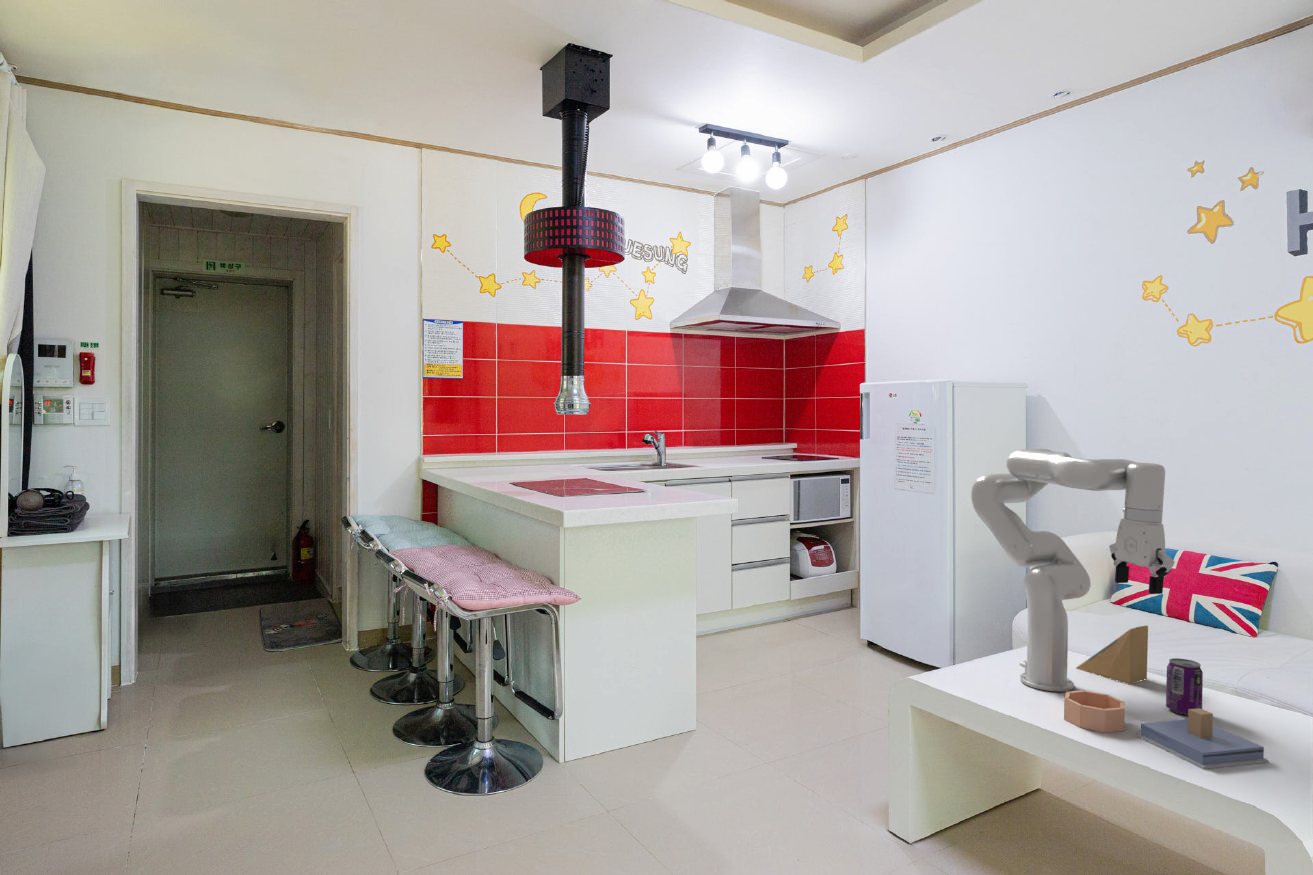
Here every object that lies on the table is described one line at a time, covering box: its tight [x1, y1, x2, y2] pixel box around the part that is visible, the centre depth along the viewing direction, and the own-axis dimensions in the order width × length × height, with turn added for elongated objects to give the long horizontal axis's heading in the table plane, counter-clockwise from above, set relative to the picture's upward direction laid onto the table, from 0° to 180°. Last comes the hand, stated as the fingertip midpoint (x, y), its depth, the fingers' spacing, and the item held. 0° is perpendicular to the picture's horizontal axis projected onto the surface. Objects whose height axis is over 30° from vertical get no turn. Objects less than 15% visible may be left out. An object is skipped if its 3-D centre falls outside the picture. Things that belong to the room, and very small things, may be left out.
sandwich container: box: [1075, 625, 1149, 685], centre depth 207 cm, size 9×15×15 cm, turn 28°
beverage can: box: [1165, 657, 1204, 716], centre depth 180 cm, size 7×7×12 cm
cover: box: [1139, 708, 1265, 765], centre depth 159 cm, size 15×15×8 cm
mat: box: [1136, 733, 1270, 770], centre depth 159 cm, size 16×16×1 cm
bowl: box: [1063, 689, 1126, 733], centre depth 174 cm, size 12×12×5 cm
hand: (1138, 587), depth 176 cm, fingers open, 9 cm apart
